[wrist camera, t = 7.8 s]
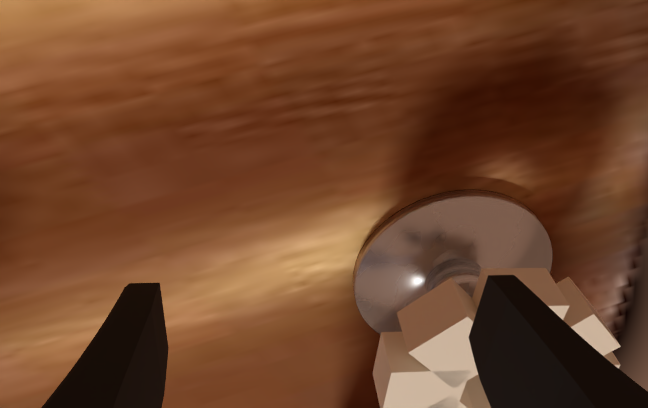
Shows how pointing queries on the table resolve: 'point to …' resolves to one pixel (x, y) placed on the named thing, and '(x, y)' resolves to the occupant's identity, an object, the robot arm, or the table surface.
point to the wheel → (465, 341)
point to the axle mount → (444, 250)
